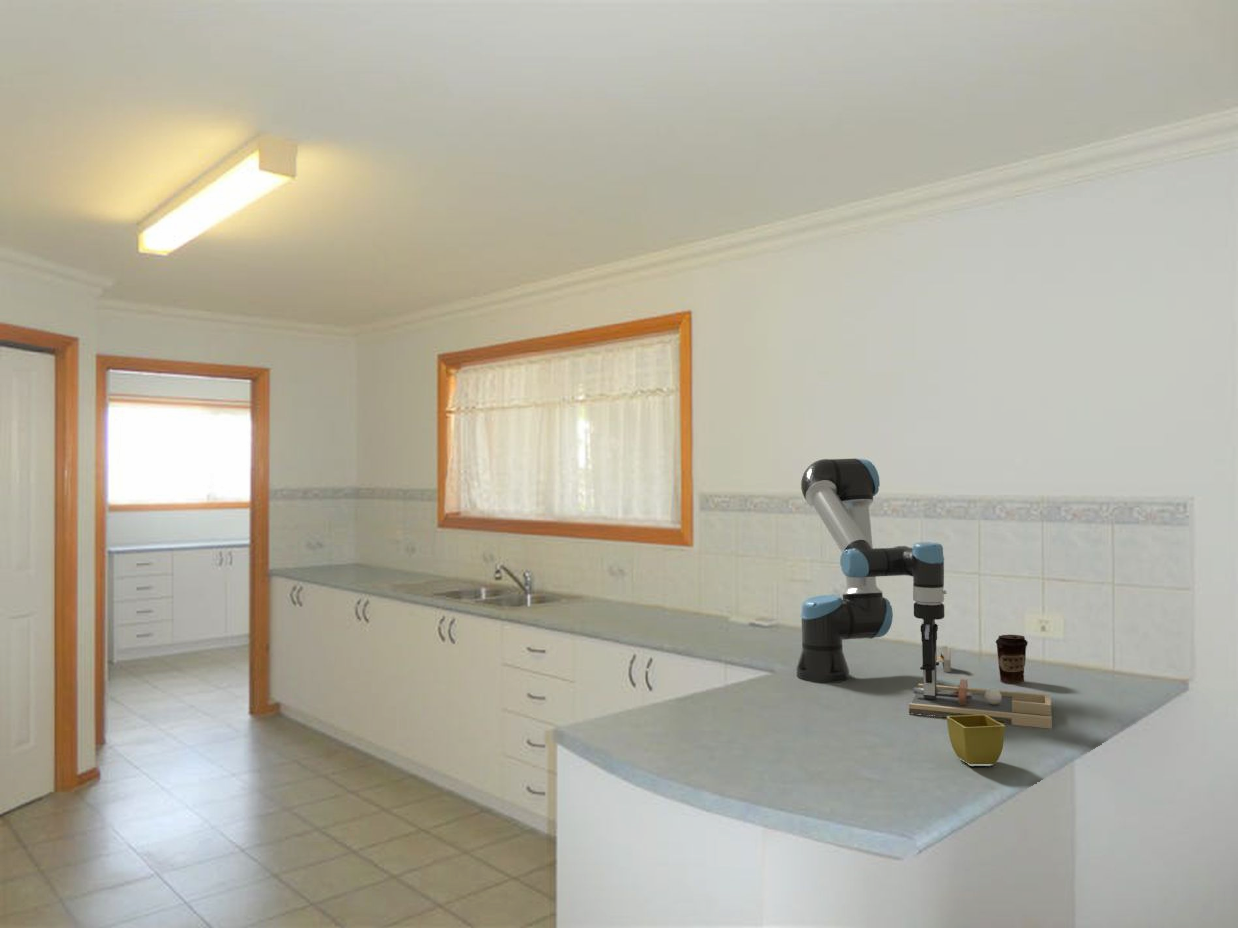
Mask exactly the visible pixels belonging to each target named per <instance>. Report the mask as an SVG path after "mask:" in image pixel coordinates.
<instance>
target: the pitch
mask: <svg viewBox="0 0 1238 928" xmlns="http://www.w3.org/2000/svg"><path fill="white" fill-rule="evenodd" d="M917 685H918V686H917V688H923V683H918V684H917ZM937 689H939V690H950V691H959V686H948V685H939V684H937ZM987 690H988V689H984V688H975V687H974V688H970V687H968V692H972V699H968V698H967V702H966V706H965V705H959V698H957V697H946V696H937V698H936V700H934V699H924V694H914V697H913V699H912V700H911V702H910V703H908V714H909V713H913V714H921V715H920V716H922V715H933V716H934V715H935V716H939V717H938V718H942V717H947V716H963V715H986V716H988V717H990V718H992V719H993V720H995V721H997V722H999V723H1003V725H1011V724H1014V725H1013V726H1020V727H1021V726H1022V727H1023V726H1024V727H1030V728H1031V727H1032V728H1033V727H1034V728H1040V729H1041V728H1042V729H1051V730H1052V729H1053V727H1052V726H1053V725H1052V724H1053V723H1052V722H1053V720H1052V704H1051V703H1052V702H1051V701H1052V700H1051V694H1046V693H1045V694H1044V693H1043V694H1042V693H1036V692H1035V693H1032V692H1022V691H1021V692H1019V691H1007V690H998V691H999V692H1000V693H1001V696H1002V699H1001V702H1000V703H999V704H997V705H991V704H989V703H988V702H987V701H986V700H985V697H984V695H985V692H986V691H987ZM940 716H941V717H940Z"/></svg>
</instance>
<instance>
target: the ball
mask: <svg viewBox="0 0 1238 928" xmlns="http://www.w3.org/2000/svg"><path fill="white" fill-rule="evenodd" d="M986 690H987V691H986V692H985V695H984V697H985V700H986V701H987V702H988V703H989V704H991V705H997V704H999V703H1000V702H1001V699H1002V696H1001V693H1000V692H999V691H1000V690H998V689H996V688H988V689H986Z"/></svg>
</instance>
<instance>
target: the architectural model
mask: <svg viewBox="0 0 1238 928" xmlns="http://www.w3.org/2000/svg"><path fill="white" fill-rule="evenodd" d="M941 650H942V651H941V652H940V655H937V661H936V662H939V663H942V670H943V673H951V672H952V669H951V668H952V667H951V666H952V664H951V658H952V657H951V647H950V646H949V645H948V644H946V645H942V646H941Z"/></svg>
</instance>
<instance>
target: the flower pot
mask: <svg viewBox="0 0 1238 928" xmlns="http://www.w3.org/2000/svg"><path fill="white" fill-rule="evenodd" d="M946 722H947V730H948V736H949V741H950V744H951V747H952V750H953V751H954V753H955V755H956V756H957V758H958V757H959V758H961V759H962V760H964V761H965V762H967V763H969V764H994V765H996V763H997V762H998V761H999V759H1000V756H1001V754H1002V751H1003V748H1004V741H1005V740H1004V739H1005V730H1006V729H1005V728H1006V726H1005V725H1006V724H1001V723H999V722H997V721H995V720H993V719H992V718H990V717H988V716H986V715H963V716H947V718H946ZM959 758H958V759H959Z"/></svg>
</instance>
